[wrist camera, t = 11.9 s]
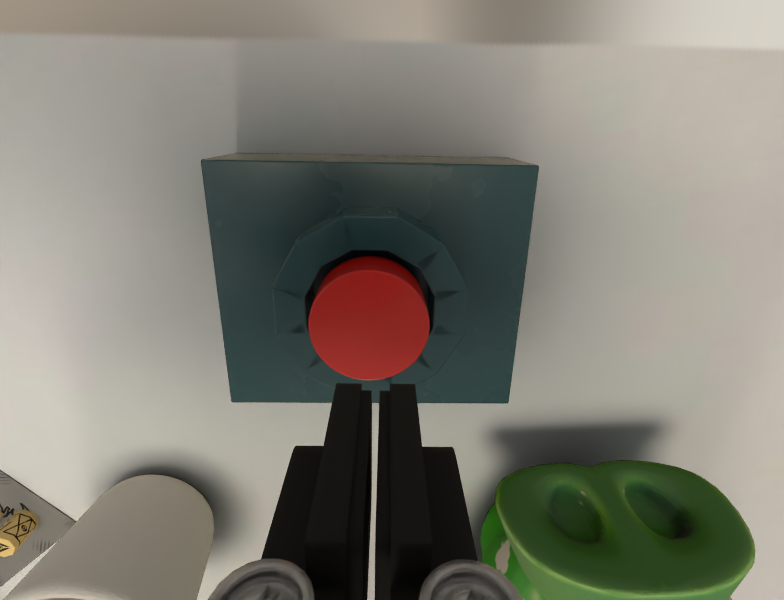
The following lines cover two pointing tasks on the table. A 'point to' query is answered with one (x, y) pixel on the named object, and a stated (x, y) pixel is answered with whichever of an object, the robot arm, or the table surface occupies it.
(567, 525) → the piggy bank
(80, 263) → the table surface
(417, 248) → the button base
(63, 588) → the cup
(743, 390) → the table surface
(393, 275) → the red push button
